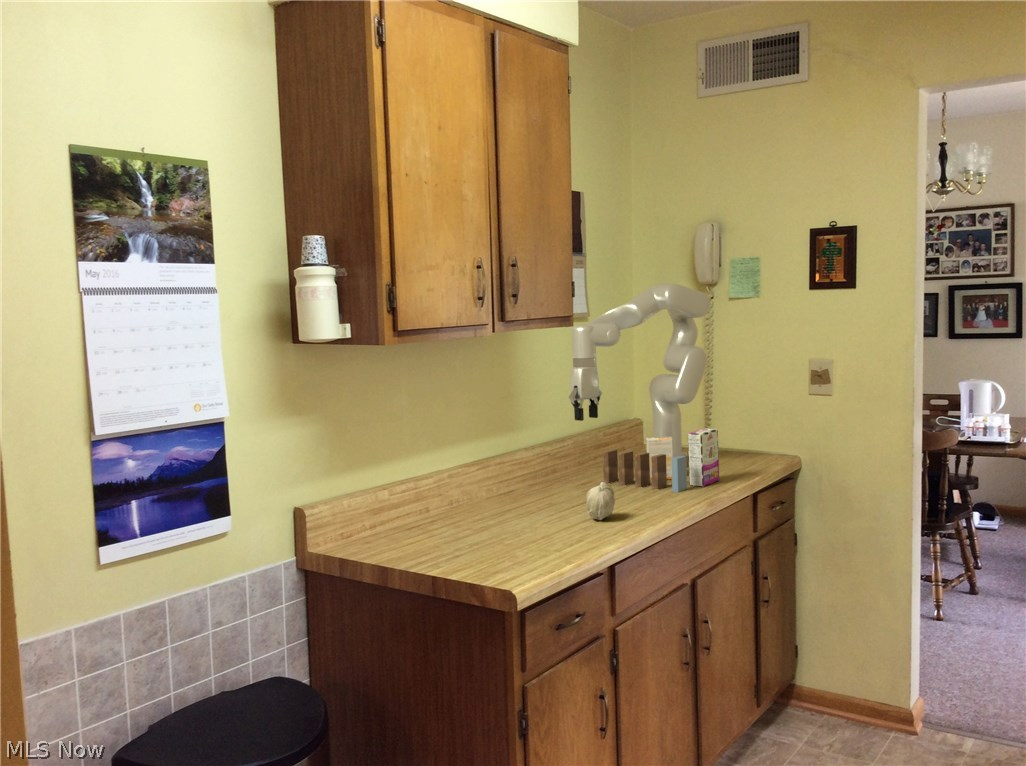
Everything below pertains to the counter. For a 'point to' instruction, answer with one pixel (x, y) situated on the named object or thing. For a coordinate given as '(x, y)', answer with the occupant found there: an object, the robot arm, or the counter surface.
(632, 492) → the counter surface
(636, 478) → the domino
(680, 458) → the domino
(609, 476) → the domino
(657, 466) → the domino
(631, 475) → the domino
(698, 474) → the candy bar box
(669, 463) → the supplement box
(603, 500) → the garlic bulb
